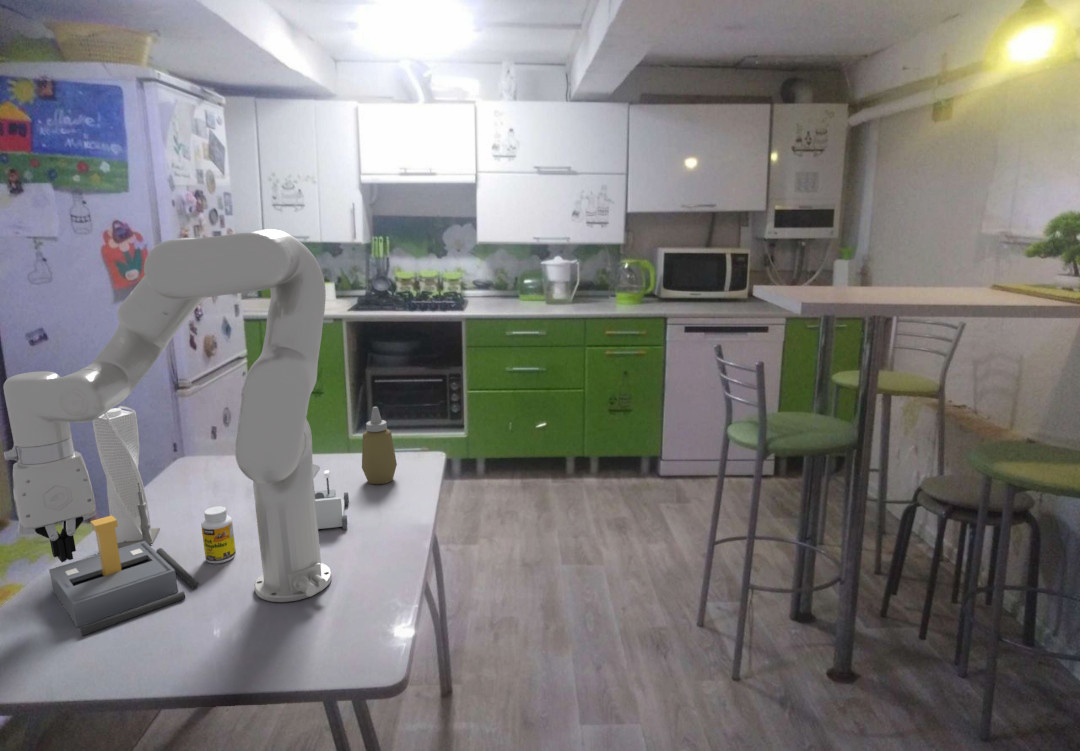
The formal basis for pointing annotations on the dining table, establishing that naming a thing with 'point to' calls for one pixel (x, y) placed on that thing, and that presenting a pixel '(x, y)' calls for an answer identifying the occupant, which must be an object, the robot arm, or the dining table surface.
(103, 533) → the breaker lever
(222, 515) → the supplement bottle
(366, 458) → the squeeze bottle
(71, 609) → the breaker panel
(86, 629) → the grey thin bar
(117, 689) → the dining table surface
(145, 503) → the skyscraper
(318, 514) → the toy rover
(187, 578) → the dark grey rod
